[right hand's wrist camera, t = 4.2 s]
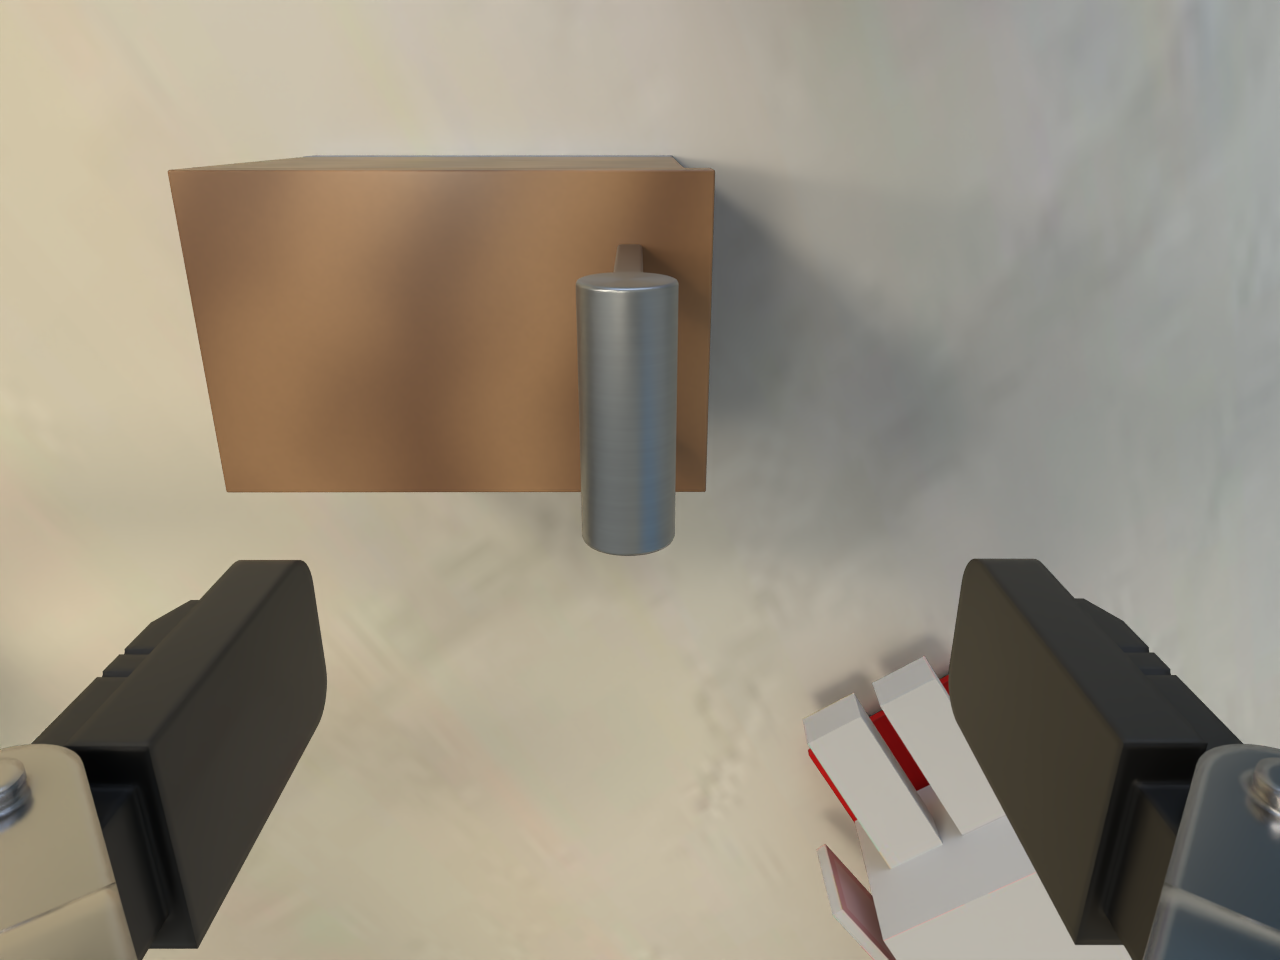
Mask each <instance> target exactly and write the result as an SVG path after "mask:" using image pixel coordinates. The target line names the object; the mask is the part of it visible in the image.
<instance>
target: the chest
mask: <svg viewBox="0 0 1280 960" xmlns="http://www.w3.org/2000/svg"><path fill="white" fill-rule="evenodd" d="M196 168H683V167H682V166H681V165H680V164H679V163H678V162H677V161H676V160H675V159H674V158H673V156H305V157H299V158H289V159H279V160H268V161H258V162H248V163H237V164H227V165H217V166H206V167H196Z"/></svg>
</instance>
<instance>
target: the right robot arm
mask: <svg viewBox="0 0 1280 960" xmlns="http://www.w3.org/2000/svg"><path fill="white" fill-rule="evenodd" d="M948 682H949V696H950V702H951V707H952V711H953V714H954V717H955V720H956V722H957V724H958V726H959V728H960V730H961V732H962V734H963V735H964V737H965V739H966V741H967V743H968V745H969V747H970V749H971V750H972V752H973V754H974V756H975V758H976V760H977V762H978V764H979V765H980V767H981V769H982V771H983V773H984V775H985V777H986V779H987V781H988V782H989V784H990V786H991V788H992V790H993V792H994V794H995V796H996V797H997V799H998V801H999V803H1000V805H1001V807H1002V809H1003V811H1004V812H1005V814H1006V816H1007V818H1008V820H1009V822H1010V824H1011V826H1012V827H1013V829H1014V831H1015V833H1016V835H1017V837H1018V839H1019V841H1020V843H1021V844H1022V846H1023V848H1024V850H1025V852H1026V854H1027V856H1028V858H1029V859H1030V861H1031V863H1032V865H1033V867H1034V869H1035V871H1036V873H1037V874H1038V876H1039V878H1040V880H1041V882H1042V884H1043V886H1044V888H1045V889H1046V891H1047V893H1048V895H1049V897H1050V899H1051V901H1052V903H1053V905H1054V906H1055V908H1056V910H1057V912H1058V914H1059V916H1060V918H1061V920H1062V921H1063V923H1064V925H1065V927H1066V929H1067V931H1068V933H1069V935H1070V936H1071V938H1072V940H1073V942H1074V944H1075V945H1124V947H1125V948H1126V950H1127V952H1128V953H1129V955H1130V957H1131V959H1132V960H1280V749H1277V748H1272V747H1267V746H1260V745H1252V744H1243V743H1242V742H1241V741H1240V740H1239V739H1238V738H1237V737H1236V736H1235V735H1234V734H1233V733H1232V732H1231V731H1230V730H1229V729H1228V728H1227V727H1226V726H1225V725H1224V724H1223V723H1222V722H1221V721H1220V720H1219V719H1218V718H1217V717H1216V715H1215V714H1214V713H1213V712H1212V711H1211V710H1210V709H1209V708H1208V707H1207V706H1206V705H1205V704H1204V703H1203V702H1202V701H1201V700H1200V699H1199V698H1198V697H1197V696H1196V695H1195V694H1194V693H1193V692H1192V691H1191V690H1190V689H1189V688H1188V687H1187V686H1186V685H1185V684H1184V683H1183V682H1182V681H1181V680H1180V679H1179V678H1178V677H1177V676H1176V675H1171V673H1170V668H1169V667H1168V666H1167V665H1166V664H1165V663H1164V662H1163V661H1162V660H1161V659H1160V658H1159V657H1158V656H1157V655H1156V654H1155V653H1149V647H1148V646H1147V645H1146V644H1145V643H1144V642H1143V641H1142V640H1141V639H1140V638H1139V637H1138V636H1137V635H1136V634H1135V633H1134V632H1133V631H1132V630H1131V629H1130V628H1129V627H1128V626H1127V625H1126V624H1125V623H1124V621H1122V620H1120V619H1119V618H1117V617H1115V616H1113V615H1112V614H1110V613H1108V612H1106V611H1105V610H1103V609H1101V608H1099V607H1097V606H1096V605H1094V604H1092V603H1090V602H1089V601H1087V600H1085V599H1075V598H1074V597H1073V596H1072V595H1071V594H1070V593H1069V592H1068V591H1067V590H1066V589H1065V588H1064V587H1063V585H1062V584H1061V583H1060V582H1059V581H1058V580H1057V579H1056V578H1055V577H1054V576H1053V575H1052V574H1051V572H1050V571H1049V570H1048V569H1047V568H1046V567H1045V566H1044V565H1043V564H1042V563H1041V562H1040V561H1039V560H1037V559H972V560H971V561H970V562H969V563H968V564H967V566H966V568H965V571H964V574H963V579H962V585H961V591H960V598H959V605H958V612H957V618H956V625H955V632H954V639H953V645H952V652H951V659H950V666H949V678H948ZM326 690H327V673H326V665H325V659H324V652H323V645H322V639H321V632H320V626H319V619H318V612H317V606H316V599H315V592H314V586H313V580H312V576H311V572H310V570H309V567H308V566H307V564H306V563H305V562H304V561H302V560H239V561H237V562H235V563H234V564H233V565H232V566H231V567H230V568H229V569H228V570H227V571H226V572H225V573H224V574H223V575H222V576H221V578H220V579H219V580H218V581H217V582H216V583H215V584H214V585H213V586H212V587H211V588H210V589H209V590H208V591H207V593H206V594H205V595H204V596H203V597H202V598H201V599H200V600H190V601H188V602H187V603H185V604H183V605H181V606H180V607H178V608H176V609H174V610H172V611H171V612H169V613H167V614H165V615H164V616H162V617H160V618H158V619H157V620H155V621H153V622H151V623H150V624H149V625H148V626H147V627H146V628H145V629H144V630H143V631H142V632H141V633H140V634H139V635H138V636H137V637H136V638H135V639H134V640H133V641H132V642H131V643H130V644H129V645H128V646H127V647H126V648H125V654H124V655H119V656H118V657H117V658H116V659H115V660H114V661H113V662H112V663H111V664H110V665H109V666H108V667H107V668H106V669H105V670H104V671H103V676H102V677H97V678H96V679H95V680H94V681H93V682H92V683H91V684H90V685H89V686H88V687H87V688H86V689H85V690H84V691H83V692H82V693H81V694H80V695H79V696H78V697H77V698H76V699H75V700H74V701H73V702H72V703H71V704H70V705H69V706H68V707H67V708H66V709H65V710H64V711H63V712H62V713H61V714H60V715H59V716H58V717H57V718H56V719H55V720H54V721H53V722H52V723H51V724H50V725H49V726H48V727H47V728H46V729H45V730H44V731H43V732H42V733H41V734H40V736H39V737H38V738H37V739H36V740H35V741H34V742H33V743H32V744H28V745H20V746H13V747H8V748H3V749H0V960H142V959H143V957H144V956H145V954H146V952H147V951H148V949H198V947H199V945H200V943H201V941H202V940H203V938H204V936H205V934H206V932H207V930H208V929H209V927H210V925H211V923H212V921H213V919H214V917H215V916H216V914H217V912H218V910H219V908H220V906H221V904H222V903H223V901H224V899H225V897H226V895H227V893H228V891H229V890H230V888H231V886H232V884H233V882H234V880H235V878H236V877H237V875H238V873H239V871H240V869H241V867H242V865H243V864H244V862H245V860H246V858H247V856H248V854H249V852H250V851H251V849H252V847H253V845H254V843H255V841H256V839H257V838H258V836H259V834H260V832H261V830H262V828H263V826H264V825H265V823H266V821H267V819H268V817H269V815H270V813H271V812H272V810H273V808H274V806H275V804H276V802H277V800H278V799H279V797H280V795H281V793H282V791H283V789H284V787H285V786H286V784H287V782H288V780H289V778H290V776H291V774H292V773H293V771H294V769H295V767H296V765H297V763H298V761H299V760H300V758H301V756H302V754H303V752H304V750H305V748H306V747H307V745H308V743H309V741H310V739H311V737H312V735H313V734H314V732H315V730H316V728H317V726H318V724H319V722H320V720H321V717H322V714H323V710H324V705H325V699H326Z"/></svg>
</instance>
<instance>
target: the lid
mask: <svg viewBox="0 0 1280 960" xmlns="http://www.w3.org/2000/svg"><path fill="white" fill-rule="evenodd" d="M168 176H169V181H170V187H171V192H172V198H173V203H174V208H175V214H176V219H177V225H178V230H179V236H180V241H181V246H182V252H183V257H184V263H185V268H186V274H187V279H188V284H189V290H190V295H191V301H192V306H193V312H194V317H195V322H196V328H197V333H198V339H199V344H200V349H201V355H202V360H203V366H204V371H205V377H206V382H207V387H208V393H209V398H210V404H211V409H212V415H213V420H214V425H215V431H216V436H217V442H218V447H219V452H220V458H221V463H222V469H223V474H224V480H225V485H226V490H227V492H581V506H582V536H583V539H584V541H585V542H586V544H587V545H588V546H590V547H591V548H593V549H595V550H597V551H600V552H603V553H607V554H612V555H620V556H635V555H644V554H649V553H653V552H656V551H659V550H661V549H663V548H665V547H667V546H668V545H669V544H670V543H671V542H672V540H673V538H674V536H675V492H705V491H706V465H707V431H708V396H709V362H710V328H711V293H712V259H713V224H714V190H715V171H714V170H713V169H711V168H185V169H175V170H169V171H168Z"/></svg>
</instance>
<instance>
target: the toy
mask: <svg viewBox="0 0 1280 960" xmlns="http://www.w3.org/2000/svg"><path fill="white" fill-rule="evenodd" d="M948 678H949V675H947V676H945V677H943V678H941V679H939V678H938V677H937V675H936V673H935V672H934V670H933V669H932V667H931V665H930V664H929V662H928V661H927V659H926V657H925V656H923V657H921V658H919V659H918V660H916V661H914V662H912V663H910V664H908V665H906V666H904V667H902V668H900V669H898V670H896V671H894V672H892V673H890V674H888V675H887V676H885V677H883V678H881V679H879V680H877V681H875V682H873V683H872V684H873V687H874V690H875V693H876V696H877V698H878V701H879V704H880V707H881V708H882V711H880V712H878V713H876V714H874V715H872V716H870V717H869V716H868V715H867V713H866V711H865V710H864V708H863V707H862V705H861V704H860V702H859V700H858V699H857V697H856V696H855V694H854V693H852V694H850V695H848V696H846V697H844V698H842V699H840V700H838V701H836V702H834V703H832V704H830V705H829V706H827V707H825V708H823V709H821V710H819V711H817V712H815V713H813V714H811V715H809V716H807V717H805V718H803V723H804V728H805V734H806V739H807V744H808V745H809V747H810V748H811V749H809V750H808V752H809V756H810V758H811V759H812V760H813V762H814V763H815V765H816V766H817V768H818V769H819V771H820V772H821V774H822V775H823V777H824V778H825V780H826V781H827V783H828V784H829V786H830V787H831V789H832V790H833V791H834V793H835V794H836V796H837V797H838V799H839V800H840V802H841V803H842V805H843V806H844V808H845V809H846V811H847V812H848V814H849V815H850V817H851V818H852V819H853V821H854V822H855V825H856V829H857V834H858V838H859V842H860V846H861V850H862V854H863V858H864V863H865V867H866V871H867V875H868V879H869V883H870V887H871V892H872V895H871V894H870V893H869V892H868V891H867V890H866V888H865V887H864V886H863V885H862V884H861V883H860V882H859V881H858V880H857V878H856V877H855V876H854V875H853V874H852V873H851V872H850V871H849V870H848V868H847V867H846V866H845V865H844V864H843V863H842V862H841V861H840V860H839V859H838V857H837V856H836V855H835V854H834V853H833V852H832V851H831V850H830V849H829V847H828V846H827V845H826V844H824V845H823V846H821V847H820V848H818V849H817V854H818V858H819V862H820V866H821V870H822V874H823V878H824V882H825V886H826V891H827V895H828V899H829V903H830V907H831V911H832V915H833V916H834V917H835V918H836V920H837V921H838V922H839V923H840V924H841V925H842V926H843V927H844V928H845V929H846V930H847V931H848V933H849V934H850V935H851V936H852V937H853V938H854V939H855V940H856V941H857V942H858V943H859V944H860V946H861V947H862V948H863V949H864V950H865V951H866V952H867V953H868V954H869V955H870V956H871V958H872V959H873V960H1132V959H1131V957H1130V955H1129V953H1128V952H1127V950H1126V948H1125V947H1124V945H1075V944H1074V942H1073V940H1072V938H1071V936H1070V935H1069V933H1068V931H1067V929H1066V927H1065V925H1064V923H1063V921H1062V920H1061V918H1060V916H1059V914H1058V912H1057V910H1056V908H1055V906H1054V905H1053V903H1052V901H1051V899H1050V897H1049V895H1048V893H1047V891H1046V889H1045V888H1044V886H1043V884H1042V882H1041V880H1040V878H1039V876H1038V874H1037V873H1036V871H1035V869H1034V867H1033V865H1032V863H1031V861H1030V859H1029V858H1028V856H1027V854H1026V852H1025V850H1024V848H1023V846H1022V844H1021V843H1020V841H1019V839H1018V837H1017V835H1016V833H1015V831H1014V829H1013V827H1012V826H1011V824H1010V822H1009V820H1008V818H1007V816H1006V814H1005V812H1004V811H1003V809H1002V807H1001V805H1000V803H999V801H998V799H997V797H996V796H995V794H994V792H993V790H992V788H991V786H990V784H989V782H988V781H987V779H986V777H985V775H984V773H983V771H982V769H981V767H980V765H979V764H978V762H977V760H976V758H975V756H974V754H973V752H972V750H971V749H970V747H969V745H968V743H967V741H966V739H965V737H964V735H963V734H962V732H961V730H960V728H959V726H958V724H957V722H956V720H955V717H954V714H953V711H952V707H951V702H950V696H949V682H948Z"/></svg>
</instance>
